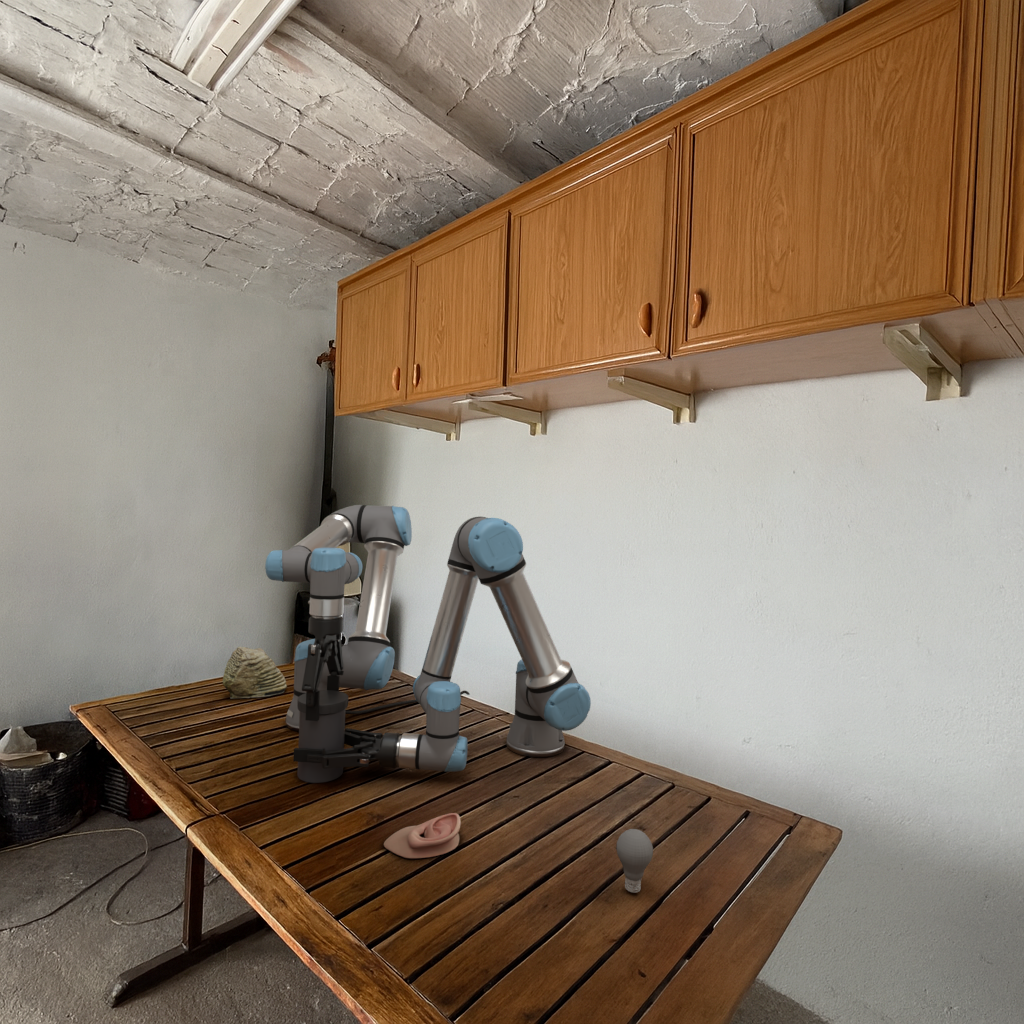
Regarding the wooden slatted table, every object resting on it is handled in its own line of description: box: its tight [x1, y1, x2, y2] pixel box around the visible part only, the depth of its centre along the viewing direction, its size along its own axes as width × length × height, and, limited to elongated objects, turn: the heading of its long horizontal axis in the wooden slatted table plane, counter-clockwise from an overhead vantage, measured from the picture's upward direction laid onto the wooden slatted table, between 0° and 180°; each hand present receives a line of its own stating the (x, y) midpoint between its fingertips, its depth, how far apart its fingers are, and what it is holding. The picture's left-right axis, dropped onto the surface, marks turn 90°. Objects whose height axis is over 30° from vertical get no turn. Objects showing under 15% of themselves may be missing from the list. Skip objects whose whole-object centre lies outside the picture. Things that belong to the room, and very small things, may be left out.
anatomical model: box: [383, 812, 462, 859], centre depth 117 cm, size 13×4×12 cm
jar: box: [296, 709, 346, 784], centre depth 145 cm, size 10×10×17 cm
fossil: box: [222, 646, 288, 699], centre depth 198 cm, size 9×18×15 cm, turn 132°
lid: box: [297, 690, 350, 715], centre depth 145 cm, size 11×11×2 cm
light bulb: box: [615, 828, 654, 894], centre depth 106 cm, size 6×6×10 cm
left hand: (322, 711), depth 145 cm, fingers closed on lid, 11 cm apart
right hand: (302, 745), depth 145 cm, fingers closed on jar, 10 cm apart
